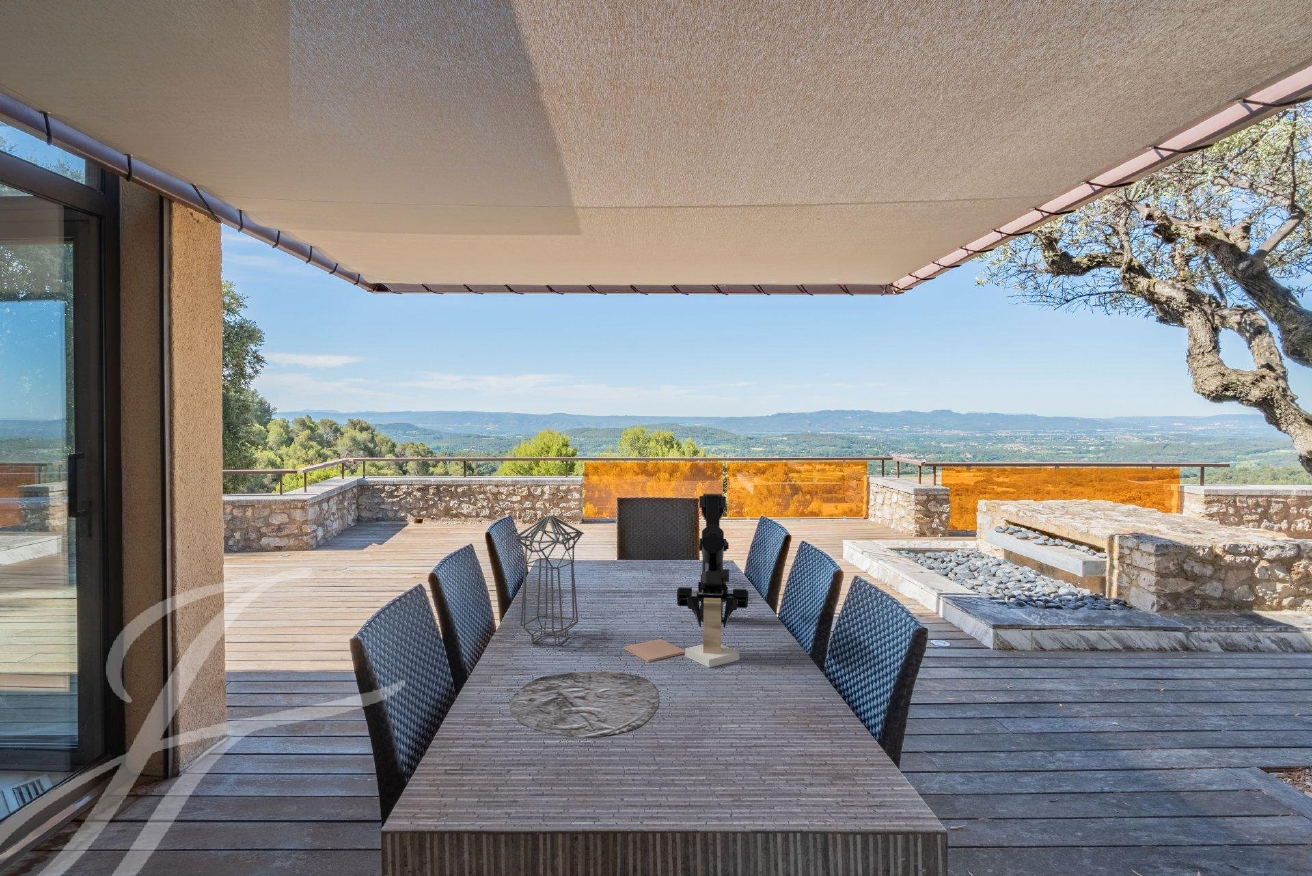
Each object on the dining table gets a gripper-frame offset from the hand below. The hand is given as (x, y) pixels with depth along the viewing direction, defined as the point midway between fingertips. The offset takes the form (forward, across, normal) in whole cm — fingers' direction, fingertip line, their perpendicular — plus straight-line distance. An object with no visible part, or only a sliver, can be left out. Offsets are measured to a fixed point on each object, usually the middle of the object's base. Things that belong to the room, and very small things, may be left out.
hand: (712, 626), depth 175 cm
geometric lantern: (-2, -45, +14) cm, 47 cm away
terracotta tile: (+2, -15, +10) cm, 18 cm away
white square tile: (+5, 0, +7) cm, 9 cm away
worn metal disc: (+26, -27, -14) cm, 40 cm away
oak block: (+4, 0, +6) cm, 7 cm away
